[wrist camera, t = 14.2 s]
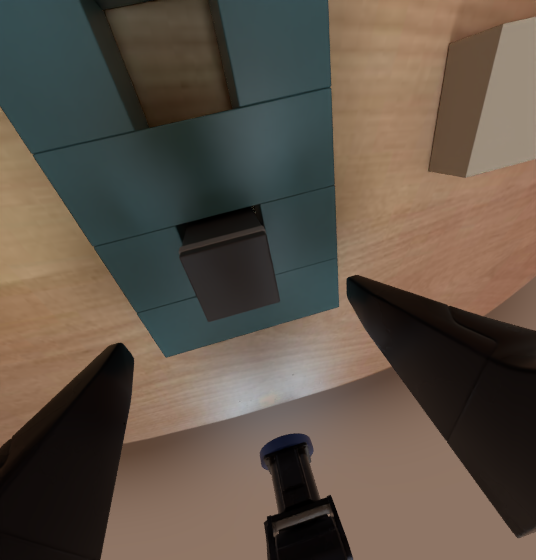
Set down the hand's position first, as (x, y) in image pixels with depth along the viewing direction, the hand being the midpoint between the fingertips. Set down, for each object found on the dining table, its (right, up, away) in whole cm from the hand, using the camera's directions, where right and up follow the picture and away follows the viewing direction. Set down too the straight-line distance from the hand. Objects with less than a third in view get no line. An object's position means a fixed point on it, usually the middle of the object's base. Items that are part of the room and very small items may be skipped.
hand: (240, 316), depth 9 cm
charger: (-2, +5, +8) cm, 10 cm away
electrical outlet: (+21, +15, +8) cm, 27 cm away
